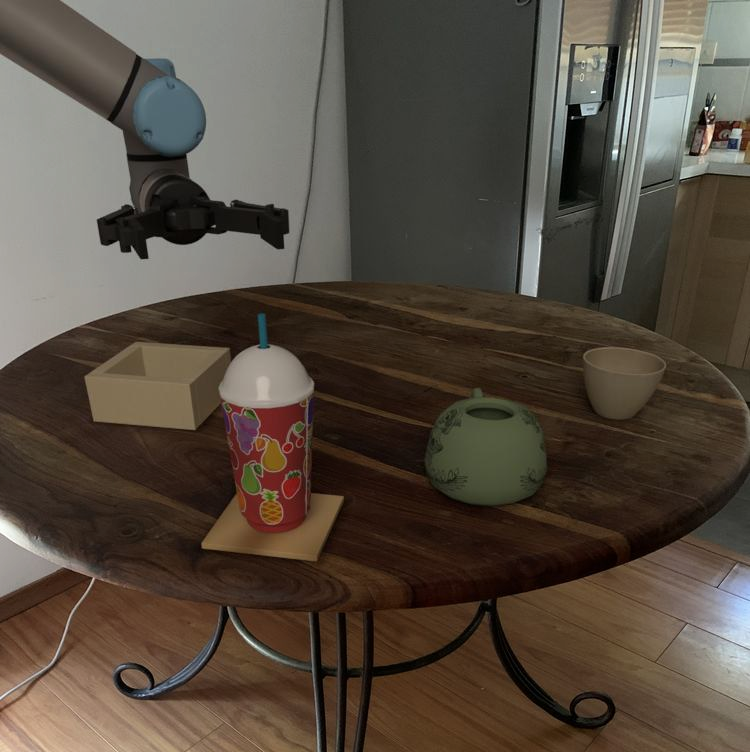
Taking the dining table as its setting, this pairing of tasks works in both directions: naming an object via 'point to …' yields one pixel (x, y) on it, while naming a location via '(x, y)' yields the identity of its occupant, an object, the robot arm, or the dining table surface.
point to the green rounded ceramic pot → (486, 452)
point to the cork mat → (290, 544)
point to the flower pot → (620, 380)
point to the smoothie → (269, 434)
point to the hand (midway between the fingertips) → (213, 240)
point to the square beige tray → (158, 385)
